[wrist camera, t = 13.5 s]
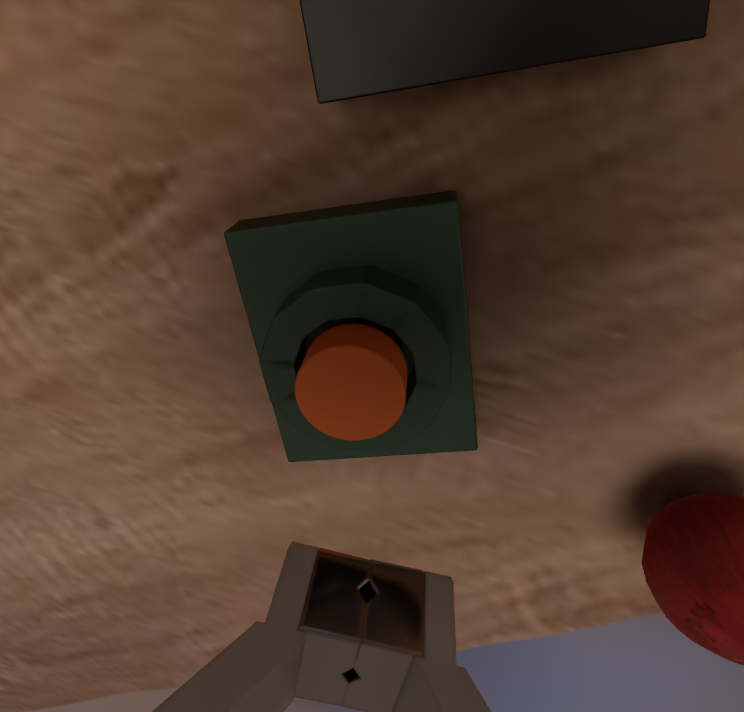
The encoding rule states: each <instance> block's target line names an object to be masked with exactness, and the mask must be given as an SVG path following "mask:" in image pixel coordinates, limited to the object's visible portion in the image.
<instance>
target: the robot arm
mask: <svg viewBox="0 0 744 712" xmlns="http://www.w3.org/2000/svg"><path fill="white" fill-rule="evenodd" d="M294 697H297V698H303V699H308V700H313V701H318V702H323V703H329V704H334V705H339V706H344V707H348V708H351V709H355V710H359V711H364V712H491V711H490V709H489V707H488V706H487V704H486V702H485V701H484V699H483V697H482V696H481V694H480V692H479V691H478V689H477V687H476V686H475V684H474V682H473V681H472V679H471V677H470V676H469V674H468V672H467V670H466V669H465V668H463V667H460V666H457V663H456V637H455V611H454V585H453V580H452V578H451V577H449V576H444V575H440V574H435V573H431V572H426V571H424V572H423V570H420V569H415V568H410V567H405V566H400V565H395V564H391V563H386V562H381V561H376V560H367V559H363V558H359V557H355V556H351V555H347V554H343V553H339V552H335V551H331V550H327V549H323V548H319V550H318V547H314V546H310V545H305V544H301V543H297V542H293V541H292V542H291V544H290V546H289V548H288V551H287V554H286V557H285V560H284V563H283V567H282V570H281V573H280V576H279V580H278V583H277V586H276V589H275V592H274V596H273V599H272V602H271V605H270V608H269V612H268V615H267V618H266V621H265V623H262V622H255V623H254V624H253V625H252V626H251V627H250V628H248V629H247V630H246V631H245V632H244V633H243V634H242V635H240V636H239V637H238V638H237V639H236V640H235V641H233V642H232V643H231V644H230V645H229V646H228V647H226V648H225V649H224V650H223V651H222V652H221V653H219V654H218V655H217V656H216V657H215V658H214V659H213V660H211V661H210V662H209V663H208V664H207V665H206V666H204V667H203V668H202V669H201V670H200V671H199V672H197V673H196V674H195V675H194V676H193V677H192V678H190V679H189V680H188V681H187V682H186V683H185V684H184V685H182V686H181V687H180V688H179V689H178V690H177V691H175V692H174V693H173V694H172V695H171V696H170V697H168V698H167V699H166V700H165V701H164V702H163V703H161V704H160V705H159V706H158V707H157V708H156V709H155V710H153V712H284V711H285V709H286V708H287V707H288V706H289V705H290V703H291V702H292V701H293V698H294Z"/></svg>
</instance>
